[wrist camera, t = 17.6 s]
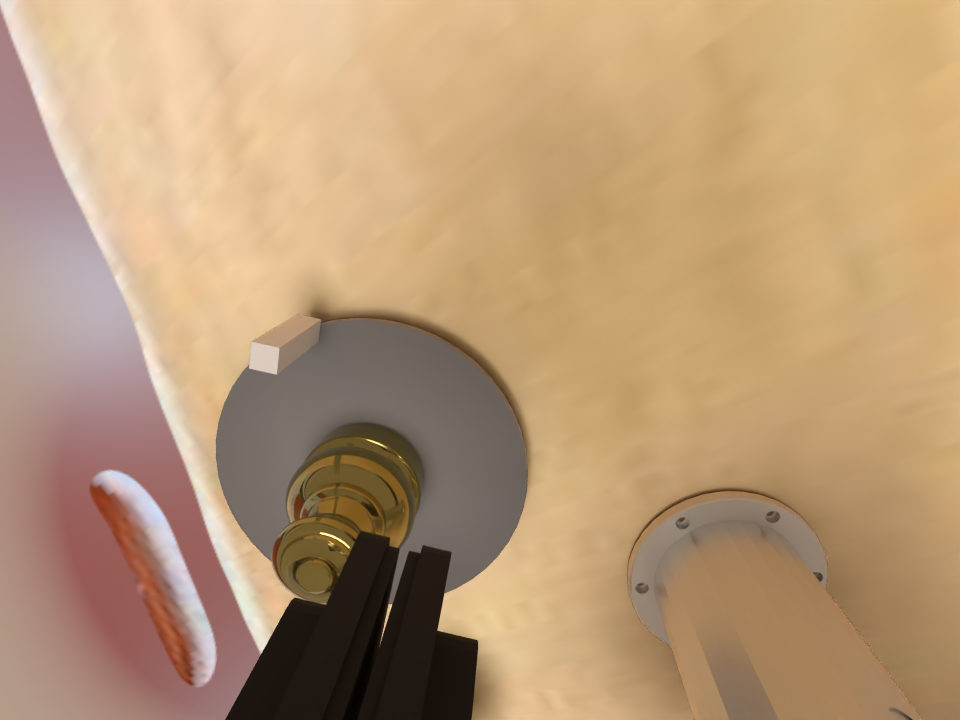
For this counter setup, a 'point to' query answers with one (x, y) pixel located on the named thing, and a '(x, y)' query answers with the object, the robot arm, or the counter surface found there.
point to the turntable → (384, 402)
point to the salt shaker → (345, 505)
